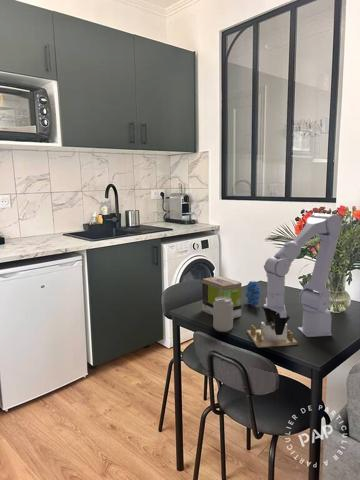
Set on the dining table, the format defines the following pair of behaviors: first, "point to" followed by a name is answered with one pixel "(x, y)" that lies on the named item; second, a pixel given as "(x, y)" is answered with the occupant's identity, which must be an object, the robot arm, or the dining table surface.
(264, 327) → the block
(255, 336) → the tray
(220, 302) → the can
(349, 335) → the dining table surface
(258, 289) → the grapes
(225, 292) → the tea box
